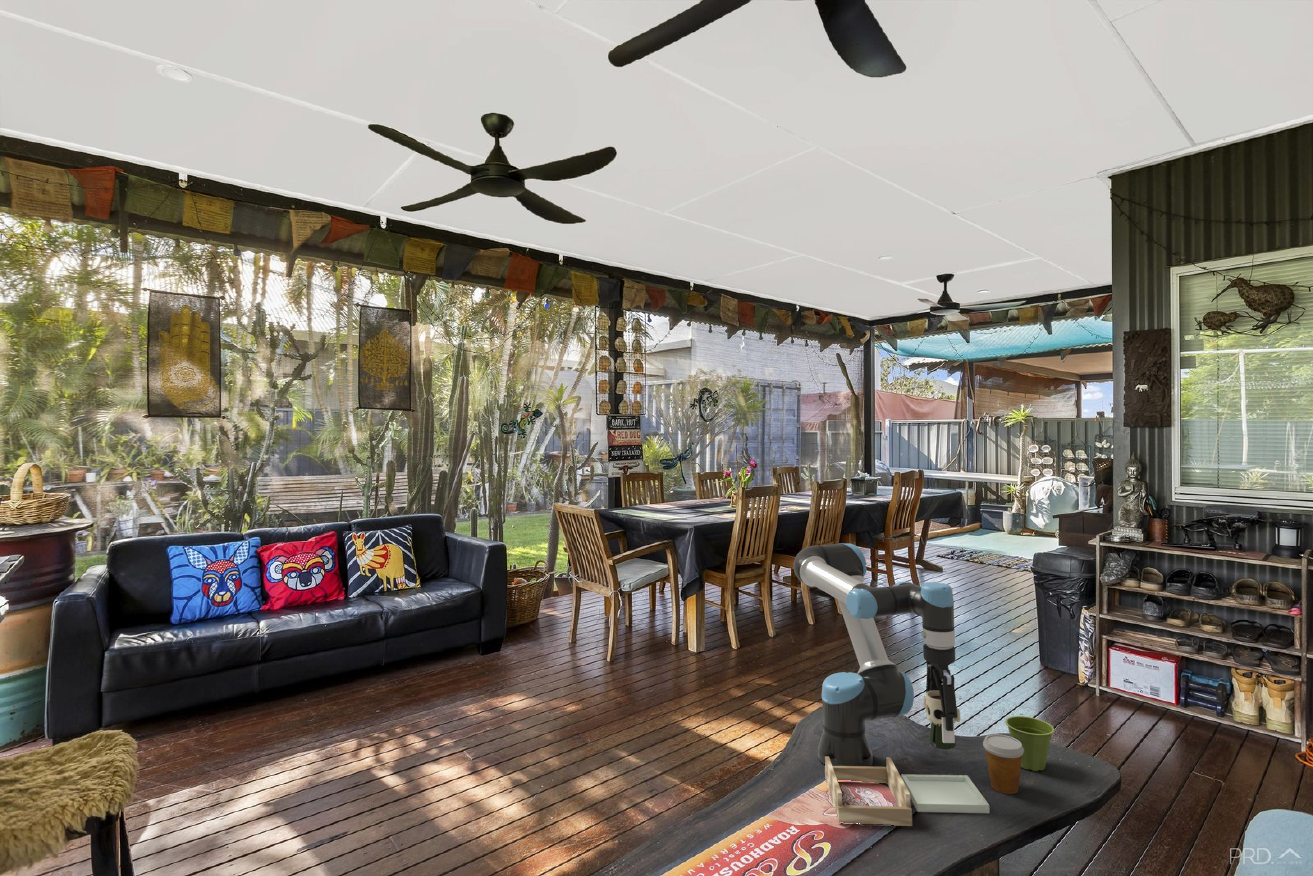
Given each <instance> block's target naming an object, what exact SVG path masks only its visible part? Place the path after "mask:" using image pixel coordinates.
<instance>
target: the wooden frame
mask: <svg viewBox="0 0 1313 876" xmlns="http://www.w3.org/2000/svg"><path fill="white" fill-rule="evenodd" d="M885 761H886V766H871V767H870V766H832V764H831V761H830V758H829V757H825V765H824V775H825V776H824V778H825V779H826V781H825V783H827V784H826V786H827V785H828V787H827V789H828V788H829V791H828V792H830V794H829V796H830V795H831V797H830V799H831V798H832V800H831V802H832V801H833V803H832V805H833V804H834V806H833V808H834V807H835V810H836V813H835V815H836V814H837V816H836V818H837V817H838V819H837V821H838V820H839V822H843V823H855V824H856V823H858V824H859V823H860V824H862V823H863V824H891V825H894V827H895V826H897V827H899V826H900V827H901V826H902V827H905V826H906V827H913V812H912V811H913V809H912V806H911V799H910V793H909V791H908V789H907V787H906V786H905V784H904V782H903V780H902V778H901V775H900V773H899V771H898V769H897V767H896V766H895V764H894V762H893V760H892V758H891V757H889V756H888V757H887V756H886V760H885ZM825 779H824V780H825ZM838 780H851V781H862V782H874V783H873V784H879V783H886V785H887V786H888V788H889V790H890V792H891V794H892V796H893V798H895V799H894V801H895V802H896V805H897V806H894V805H893V806H892V805H888V806H886V805H885V806H884V805H847V804H846V805H843V800H842V799H843V793H842V790H841V786H840V783H838ZM835 810H834V811H835ZM839 822H838V823H839ZM891 825H890V826H891Z"/></svg>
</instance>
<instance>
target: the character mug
mask: <svg viewBox="0 0 1313 876" xmlns="http://www.w3.org/2000/svg"><path fill="white" fill-rule="evenodd" d="M925 693H926V692H925ZM955 697H957V696H956V695H955ZM922 700H923V701H922V703H923V708H924V709H925V713H926V717H927V720H928V721H929V722H930V721H931V722H932V723H931V726H930V731H929V745H931V747H933V746H934V745H935V748H936V749H940V750H951V749H954V748H955V747H956V746H957V745H956V744H957V743H956V742H957V741H955V743H943V742H942V717H940V715H943V711H942V705H941V699H940V693H939V690H933V691H929V692H927V693H926V694H925V695H924V696H923V699H922ZM957 715H958V716H957V718H954V724H955V723H960V722H961V710H960V708H957ZM933 744H934V745H933Z"/></svg>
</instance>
